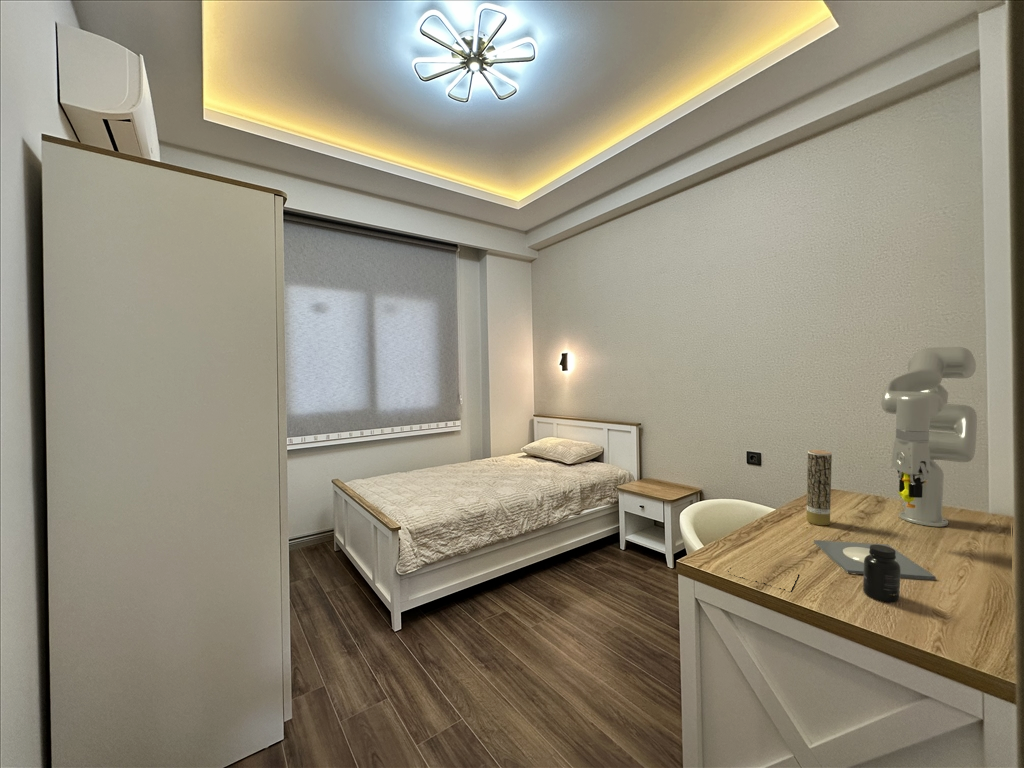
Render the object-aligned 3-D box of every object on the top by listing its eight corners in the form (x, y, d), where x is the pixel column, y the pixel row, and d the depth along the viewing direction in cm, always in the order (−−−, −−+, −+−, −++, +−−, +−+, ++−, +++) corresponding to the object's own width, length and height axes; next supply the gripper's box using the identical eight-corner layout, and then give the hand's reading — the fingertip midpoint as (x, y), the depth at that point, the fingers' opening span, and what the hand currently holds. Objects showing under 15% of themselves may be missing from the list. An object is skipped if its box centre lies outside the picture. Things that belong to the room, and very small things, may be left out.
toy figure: (926, 507, 134) (926, 468, 134) (927, 510, 131) (927, 470, 131) (896, 503, 138) (896, 465, 138) (896, 506, 136) (896, 467, 135)
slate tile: (813, 543, 138) (813, 539, 138) (887, 547, 134) (887, 543, 134) (847, 573, 119) (847, 569, 119) (935, 580, 115) (935, 575, 115)
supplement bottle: (855, 589, 111) (857, 543, 110) (880, 588, 111) (882, 541, 111) (880, 605, 104) (882, 555, 103) (907, 603, 105) (909, 553, 104)
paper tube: (833, 526, 151) (835, 454, 150) (811, 525, 152) (813, 453, 151) (824, 519, 158) (825, 450, 156) (802, 518, 159) (804, 449, 158)
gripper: (881, 430, 143) (879, 486, 144) (916, 441, 126) (914, 503, 128) (908, 430, 141) (906, 486, 142) (947, 441, 125) (945, 504, 126)
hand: (910, 494), depth 135 cm, fingers closed on toy figure, 3 cm apart
